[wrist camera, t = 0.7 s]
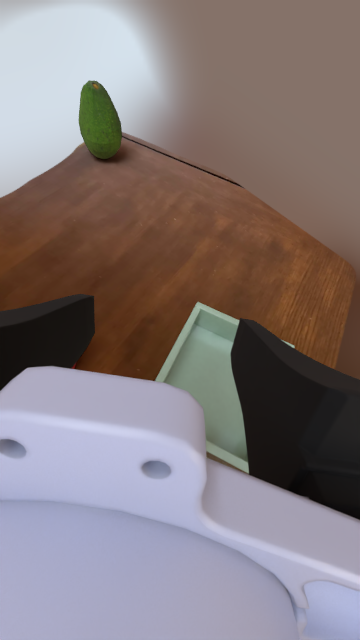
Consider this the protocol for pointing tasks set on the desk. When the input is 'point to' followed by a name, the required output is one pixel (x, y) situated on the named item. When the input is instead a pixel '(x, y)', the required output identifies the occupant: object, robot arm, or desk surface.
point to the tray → (211, 382)
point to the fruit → (99, 121)
